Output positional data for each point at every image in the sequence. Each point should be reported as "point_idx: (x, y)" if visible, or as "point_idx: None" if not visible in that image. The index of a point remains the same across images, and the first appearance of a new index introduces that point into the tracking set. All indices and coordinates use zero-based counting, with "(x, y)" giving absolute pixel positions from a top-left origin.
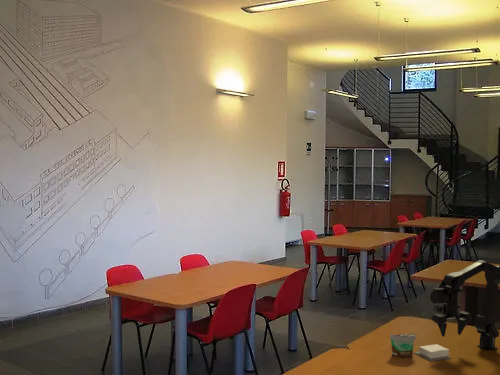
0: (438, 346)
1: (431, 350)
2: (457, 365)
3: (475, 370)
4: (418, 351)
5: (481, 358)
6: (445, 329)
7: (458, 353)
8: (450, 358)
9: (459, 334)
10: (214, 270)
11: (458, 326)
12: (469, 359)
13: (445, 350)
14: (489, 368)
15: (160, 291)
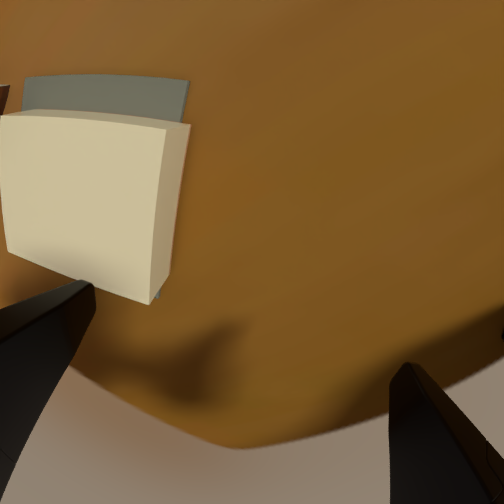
0: (122, 194)
1: (21, 232)
2: (118, 360)
3: (154, 417)
4: (53, 77)
5: (340, 389)
6: (24, 425)
7: (316, 270)
8: (156, 295)
9: (390, 386)
10: None
11: (447, 468)
12: (260, 367)
13: (115, 291)
14: (231, 440)
15: None
